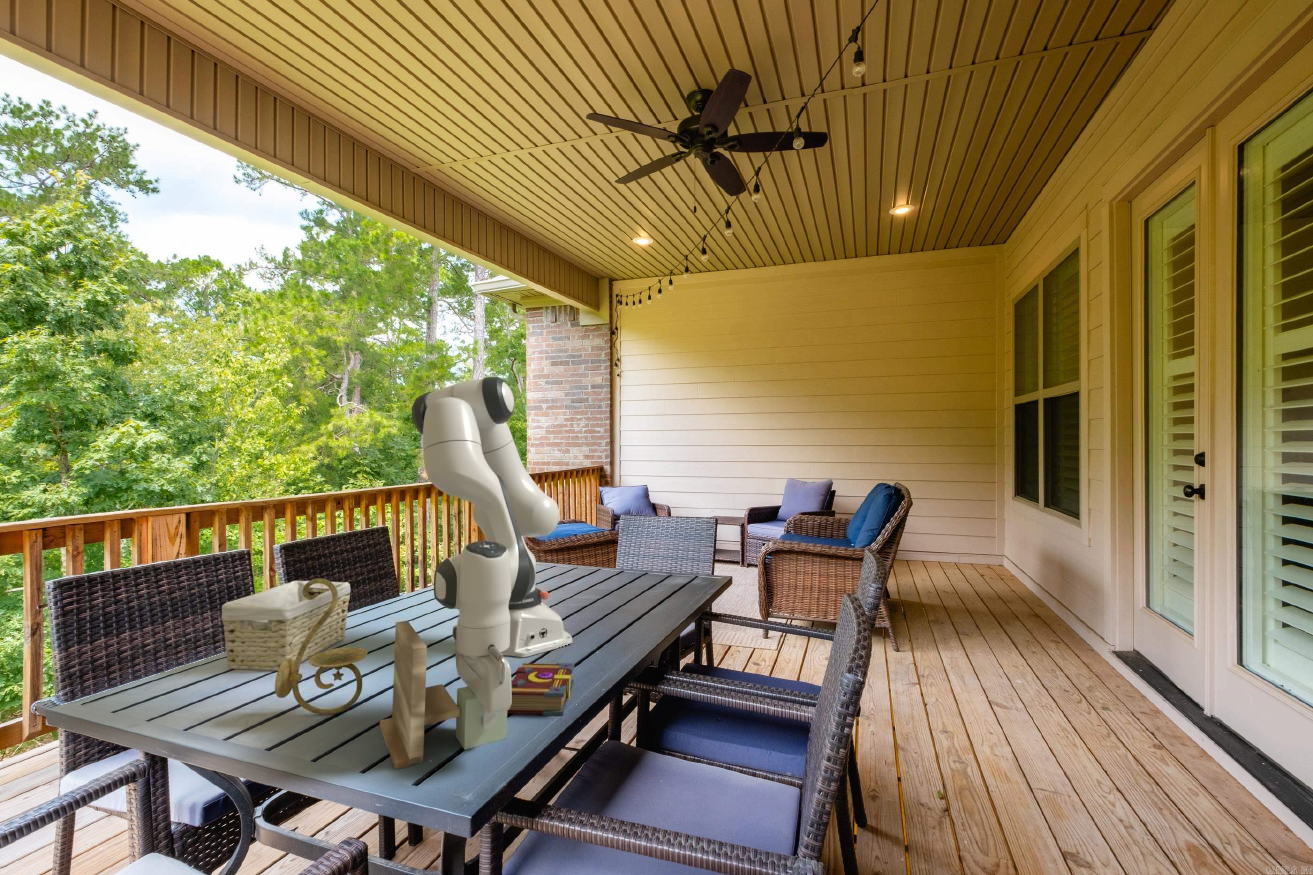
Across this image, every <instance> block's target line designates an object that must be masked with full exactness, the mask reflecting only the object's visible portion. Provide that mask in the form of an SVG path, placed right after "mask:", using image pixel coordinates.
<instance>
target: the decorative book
mask: <svg viewBox="0 0 1313 875" xmlns="http://www.w3.org/2000/svg"><path fill="white" fill-rule="evenodd" d="M574 668H575V663H573V662H571V663H569V662H566V663H565V662H557V663H525V662H523V663H522V664H521V666H520V667H518V668H517V669H516V671H515V676H514V678H513V680H512V679H511V688H512V703H511V706H510V708H509V710H507V714H520V715H521V714H522V715H523V714H524V715H529V714H530V715H543V716H555V715H563V716H564V714H563V713H565V711H564V710H566V708H567V707H566V706H567V701H568V700H567V699H569V700H570V698H569V697H571V691H572V690H571V689H573V687H572V686H574V684H573V683H575V679H572V677H573V676H572V674H573V671H574ZM565 707H566V708H565Z"/></svg>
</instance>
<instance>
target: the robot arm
mask: <svg viewBox="0 0 1313 875" xmlns="http://www.w3.org/2000/svg"><path fill="white" fill-rule="evenodd" d="M514 398H515V397H514V394H513V391H512V390H511V388H510V386H509V385H508V383H507V381H506V380H504V379H503V378H501V377H499V376H487V377H486V376H485V377H484V378H483V379H472V380H466V381H460V382H457V383H454V384H452V385H448V386H445V387H443V388H440V389H437V390H434V391H427V392H425V393H423V394H420V395H419V396H417V397H416V398H415V399H414V402H413V403H412V406H411V418H412V422H413V425H414V427H415V428H416V430H417V431H418V433H420V434H421V435H422V446H423V447H422V449H423V450H422V451H423V463H424V468H425V473H426V475H427V478H428V481H430V483H431V484H432V485H433V486H434V487H435V488H436V489H438V490H439V491H440V492H442V493H444V494H446V495H448V496H451V497H454V498H458V499H460V500H461V499H462V500H464V501H466V502H469V503H472V504H473V507H472V518H473V521H474V523H475V524H476V525H477V526H478V527H479V528H480V530H481V532H482V534H483V536H484V539H485V540H478V541H474V542H470V543H468V544H466V545H465V546H464V547H463V549H462V552H461V553H459V554H457V555H454V556H451V557H446V558H444V560H442V561H441V562H440V564H439V565H438V566H437V568H436V569H435V570H434V573H433V574H434V575H433V597H434V599H435V600H436V601H437V603H439V604H440V605H442V606H443V607H444V608H445V609H448V610H458V612H459V613H458V618H457V622H456V623H457V624H456V625H454V626H453V627H452V638H453V640H454V641H455V643H454V645H455V646H454V648H455V649H454V650H455V652H454V654H455V655H454V656H455V667H456V673H457V675H458V676H459V678H460V679H461V680H462V682H463V683H464V684H465V685H466V687H468V688H469V689H470V690H471V691H472V693H473V694H474V695H475V697H476V698H477V699H478V700H479V702H480V703H481V704H482V705H483V709H484V711H483V716H481V725H482V727H483V728H484V729H485V730H486V729H489V728H492V727H493V726H494V717H495V714H496V713H500V712H504V711H507V710H509V708H510V706H511V703H512V688H511V680H512V672H511V671H512V670H511V666H510V663H509V661H508V660H507V659H506V658H505V657H504V656H513V657H517V658H526V657H530V656H534V655H537V654H542V653H545V652H548V651H552V650H555V649H559V647H560V648H563V647H566V646H565V645H567V646H569V645H568V644H570V643H572V644H573V637H572V635H571V634H570V633H569V632H568V631H566V630H565V628H564V622H563V619H562V617H561V616H560V615H559V614H558V613H557V612H556V611H554V610H553V609H552V608H550V607H549V606H548V605H547V604H545V603H544V602H542V601H547V600H548V598H549V596H550V593H549V592H548V591H546V590H541V589H539V588H537V587H536V575H537V573H536V572H537V561H536V557H535V555H534V553H533V552H532V551H531V550H530V549H529V547H528V546H527V543H526V540H525V538H524V537H526V538H538V537H545V536H548V535H550V534H552V533H553V532H554V530H555V529H556V528H557V526H558V524H559V521H560V510H559V508H560V507H559V505H558V504H557V502H556V501H555V500H554V499H553V498H552V497H550V496H549V495H547V494H546V493H545V492H544V491H543V490H542V489H541V488H540V487H539V486H538V485H537V484H536V482H535V481H534V480H533V478H532V477H531V476H530V474H529V472H528V471H527V469H526V468H525V466H524V464H523V462H522V459H521V456H520V454H519V452H518V449H517V447H516V444H515V440H514V438H513V434H512V432H511V429H510V427H509V425H508V423H507V421H508V420H509V419H510V418H511V417H512V415H513V414H514V411H515V399H514ZM570 645H571V644H570ZM562 646H563V647H562Z"/></svg>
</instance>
